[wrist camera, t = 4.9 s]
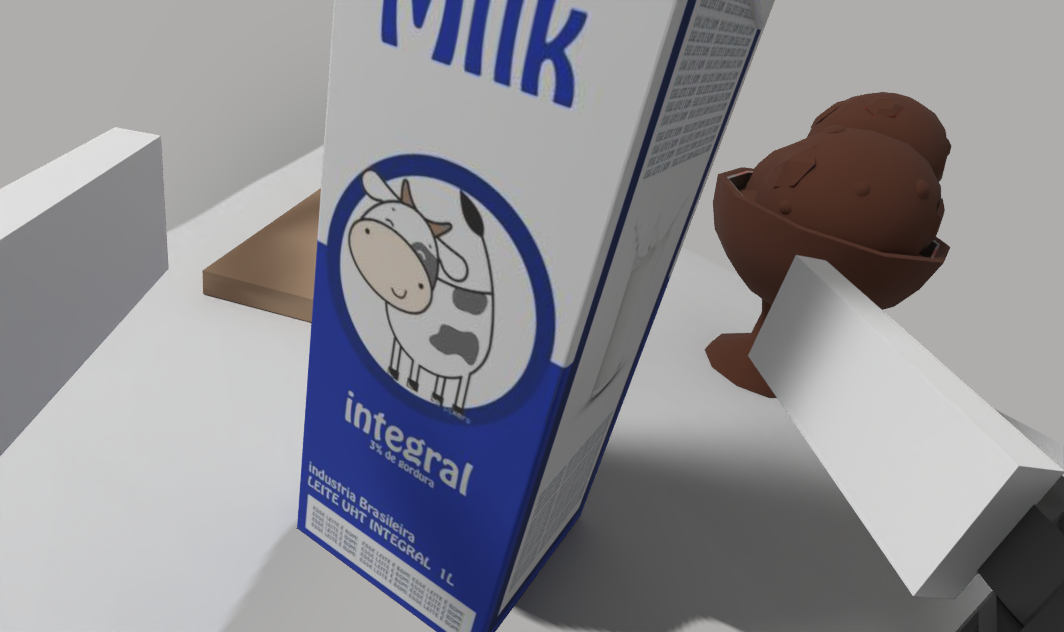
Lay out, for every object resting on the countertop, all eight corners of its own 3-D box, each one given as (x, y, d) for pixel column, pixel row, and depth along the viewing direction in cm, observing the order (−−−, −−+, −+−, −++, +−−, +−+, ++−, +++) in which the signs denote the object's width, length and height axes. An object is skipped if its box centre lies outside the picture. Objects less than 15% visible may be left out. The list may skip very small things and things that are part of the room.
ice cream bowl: (669, 297, 41) (763, 52, 33) (844, 359, 39) (984, 113, 31) (641, 377, 32) (762, 64, 24) (868, 463, 30) (1073, 151, 22)
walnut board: (594, 248, 45) (599, 233, 44) (582, 393, 29) (589, 372, 28) (349, 183, 45) (350, 167, 44) (203, 293, 29) (202, 270, 28)
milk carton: (584, 518, 22) (846, -163, 13) (479, 665, 17) (796, -327, 7) (427, 423, 25) (549, -210, 15) (291, 525, 19) (347, -359, 10)
